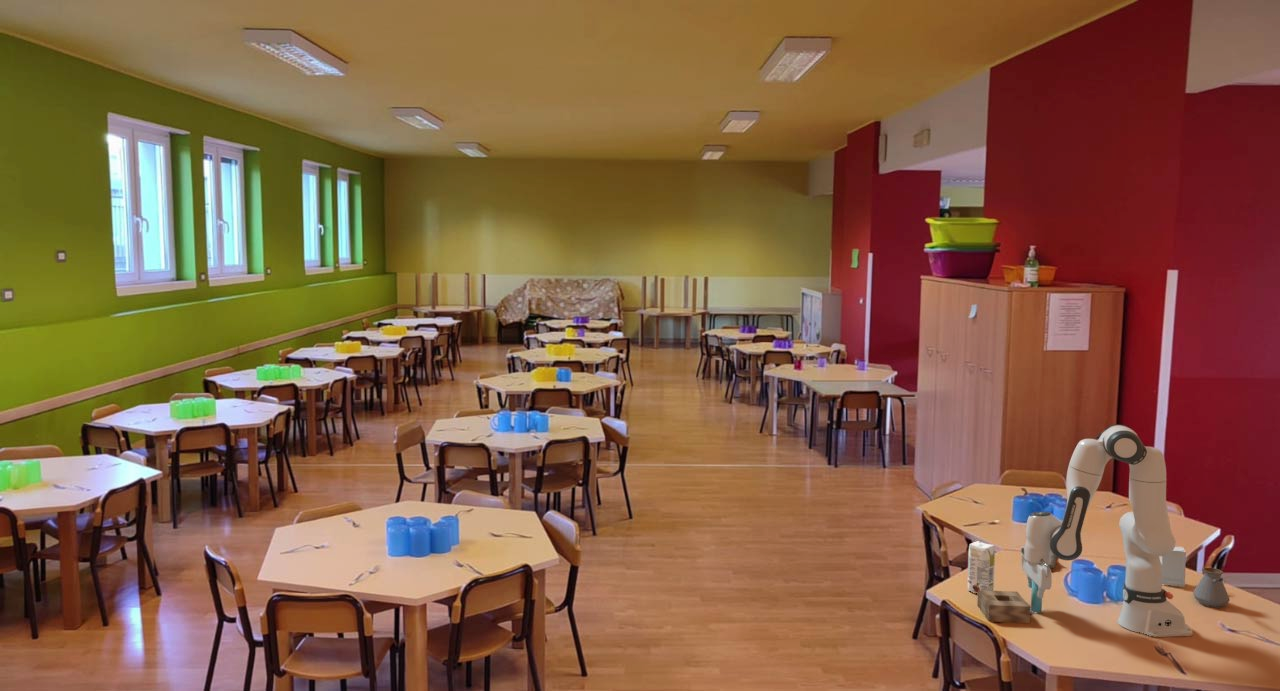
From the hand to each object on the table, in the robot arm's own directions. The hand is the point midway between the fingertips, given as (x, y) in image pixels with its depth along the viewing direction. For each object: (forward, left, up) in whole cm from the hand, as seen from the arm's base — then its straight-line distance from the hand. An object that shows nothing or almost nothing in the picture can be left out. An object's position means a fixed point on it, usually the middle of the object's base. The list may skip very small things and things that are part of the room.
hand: (1035, 592), depth 314 cm
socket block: (+12, +4, -7) cm, 15 cm away
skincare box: (-64, -33, -7) cm, 72 cm away
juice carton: (+14, -17, -7) cm, 23 cm away
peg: (-1, 0, -7) cm, 7 cm away
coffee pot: (-67, -9, -7) cm, 68 cm away
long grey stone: (-24, -59, -8) cm, 64 cm away
